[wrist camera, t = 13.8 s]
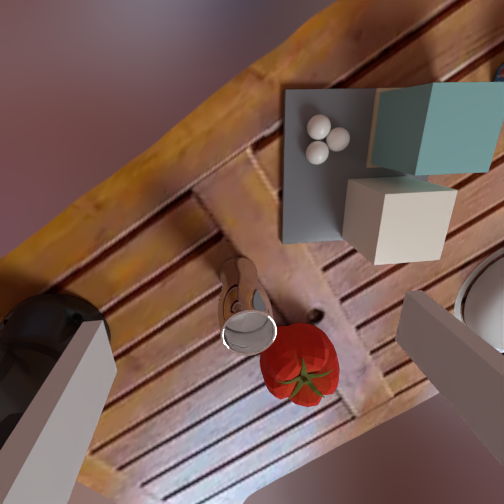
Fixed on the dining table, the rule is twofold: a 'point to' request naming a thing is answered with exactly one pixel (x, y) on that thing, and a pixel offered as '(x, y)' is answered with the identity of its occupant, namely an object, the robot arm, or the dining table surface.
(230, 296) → the beer glass
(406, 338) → the robot arm
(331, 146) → the marble
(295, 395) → the tomato
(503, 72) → the snack cup
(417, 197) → the ivory cuboid
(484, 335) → the round ceiling alarm
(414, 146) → the seafoam cube
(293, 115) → the board
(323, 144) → the marble
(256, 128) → the dining table surface
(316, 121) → the marble
